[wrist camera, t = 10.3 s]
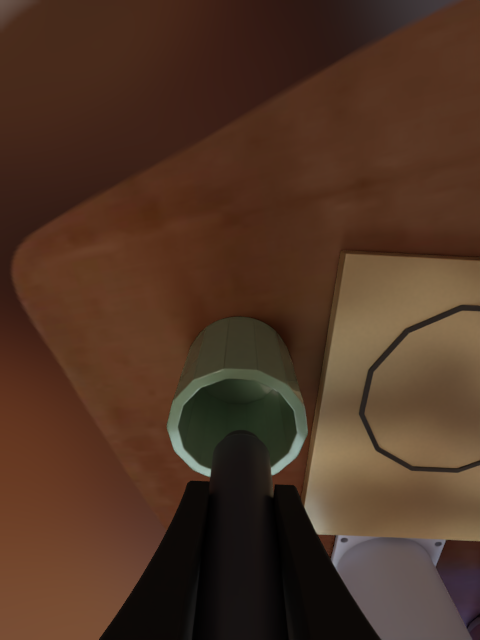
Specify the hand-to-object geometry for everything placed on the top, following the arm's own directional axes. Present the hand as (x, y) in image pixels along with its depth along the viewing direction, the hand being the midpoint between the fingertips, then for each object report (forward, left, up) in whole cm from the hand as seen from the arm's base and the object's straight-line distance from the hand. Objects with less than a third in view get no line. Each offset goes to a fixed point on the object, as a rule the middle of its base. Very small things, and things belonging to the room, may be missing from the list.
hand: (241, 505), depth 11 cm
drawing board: (-3, -14, -10) cm, 17 cm away
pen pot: (0, 0, -10) cm, 10 cm away
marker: (0, 0, -3) cm, 3 cm away
